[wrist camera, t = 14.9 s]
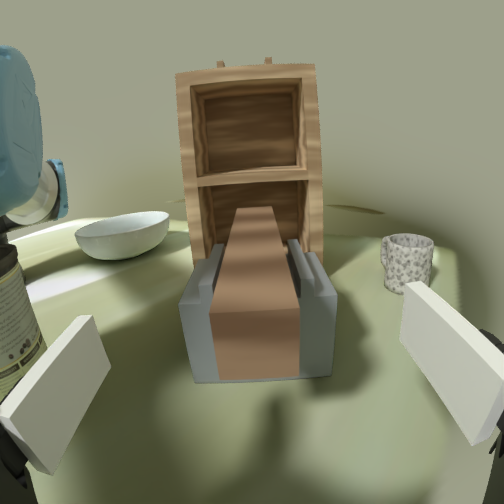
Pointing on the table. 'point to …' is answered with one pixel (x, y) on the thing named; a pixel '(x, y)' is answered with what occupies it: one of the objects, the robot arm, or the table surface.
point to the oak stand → (251, 151)
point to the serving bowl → (123, 235)
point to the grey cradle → (311, 315)
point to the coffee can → (16, 323)
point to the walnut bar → (255, 303)
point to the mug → (406, 260)
